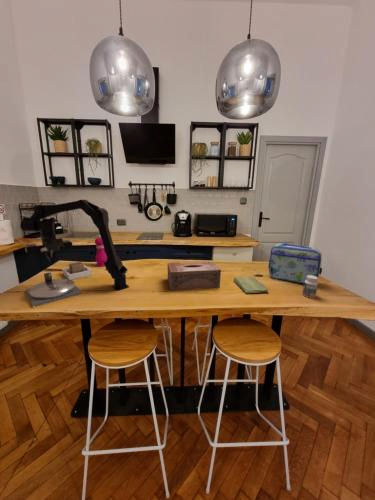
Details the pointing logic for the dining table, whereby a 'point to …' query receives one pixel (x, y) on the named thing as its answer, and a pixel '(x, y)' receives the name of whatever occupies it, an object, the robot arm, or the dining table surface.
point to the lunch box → (294, 262)
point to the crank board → (43, 301)
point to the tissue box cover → (193, 275)
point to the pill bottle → (310, 286)
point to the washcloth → (250, 285)
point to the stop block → (76, 267)
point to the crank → (51, 288)
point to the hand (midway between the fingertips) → (52, 263)
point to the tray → (77, 275)
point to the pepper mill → (100, 252)
